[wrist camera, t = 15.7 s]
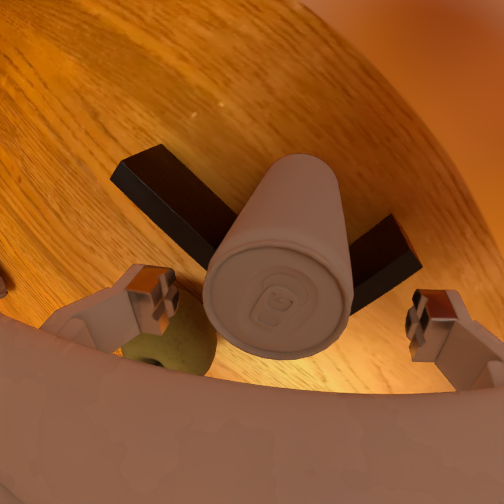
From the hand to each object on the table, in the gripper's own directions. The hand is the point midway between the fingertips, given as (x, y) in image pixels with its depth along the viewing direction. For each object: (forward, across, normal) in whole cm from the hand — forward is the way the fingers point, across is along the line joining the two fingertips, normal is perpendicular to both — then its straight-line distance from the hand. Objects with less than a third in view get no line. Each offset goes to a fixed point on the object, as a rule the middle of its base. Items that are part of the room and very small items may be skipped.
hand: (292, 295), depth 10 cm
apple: (+11, +10, +11) cm, 19 cm away
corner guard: (+11, +2, 0) cm, 11 cm away
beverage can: (+11, 0, 0) cm, 11 cm away
